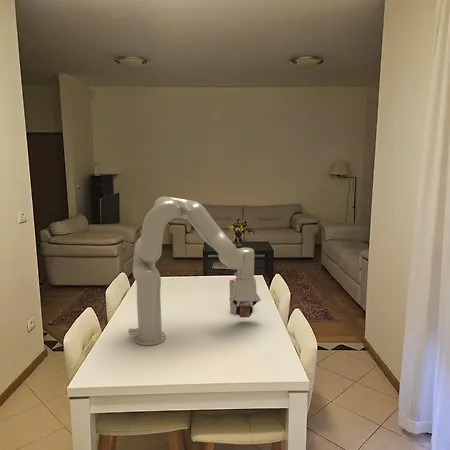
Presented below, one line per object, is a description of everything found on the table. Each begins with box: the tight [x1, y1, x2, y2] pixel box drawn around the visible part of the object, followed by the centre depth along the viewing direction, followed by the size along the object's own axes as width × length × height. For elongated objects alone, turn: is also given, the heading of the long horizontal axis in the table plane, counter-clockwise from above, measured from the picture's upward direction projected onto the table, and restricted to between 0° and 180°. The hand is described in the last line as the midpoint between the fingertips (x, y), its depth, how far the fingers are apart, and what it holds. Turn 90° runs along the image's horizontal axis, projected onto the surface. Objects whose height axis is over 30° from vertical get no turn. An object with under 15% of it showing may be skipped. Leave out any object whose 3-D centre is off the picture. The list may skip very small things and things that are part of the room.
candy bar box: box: [229, 278, 250, 316], centre depth 196 cm, size 11×5×16 cm, turn 131°
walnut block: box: [239, 305, 250, 318], centre depth 183 cm, size 4×4×4 cm
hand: (244, 314), depth 183 cm, fingers closed on walnut block, 4 cm apart
